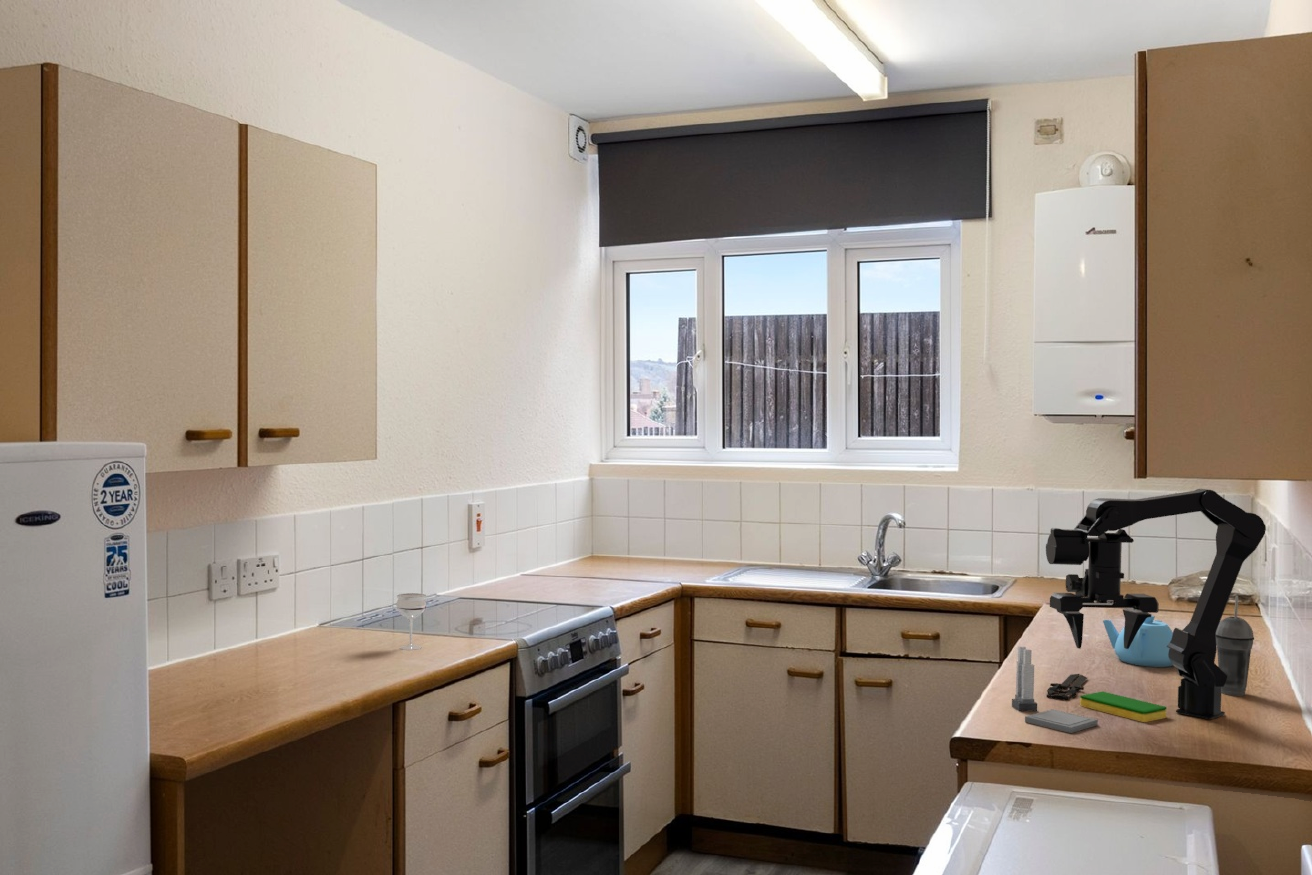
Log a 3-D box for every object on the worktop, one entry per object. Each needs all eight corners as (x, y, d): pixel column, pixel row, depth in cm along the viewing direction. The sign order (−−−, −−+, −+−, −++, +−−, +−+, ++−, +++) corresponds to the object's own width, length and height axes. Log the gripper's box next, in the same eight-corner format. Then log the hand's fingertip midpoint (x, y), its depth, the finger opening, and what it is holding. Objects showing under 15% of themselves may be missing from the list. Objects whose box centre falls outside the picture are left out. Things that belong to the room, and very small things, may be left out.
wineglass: (397, 644, 263) (398, 593, 263) (427, 644, 264) (428, 593, 263) (393, 650, 256) (394, 597, 256) (423, 650, 257) (424, 597, 257)
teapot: (1098, 654, 267) (1099, 609, 267) (1159, 654, 269) (1160, 609, 268) (1132, 669, 252) (1133, 620, 252) (1196, 668, 253) (1197, 620, 253)
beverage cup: (1247, 690, 233) (1249, 593, 232) (1257, 698, 226) (1260, 598, 225) (1208, 687, 234) (1211, 591, 234) (1217, 695, 227) (1220, 596, 227)
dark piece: (1072, 676, 245) (1072, 670, 245) (1103, 681, 241) (1103, 674, 241) (1036, 698, 224) (1036, 691, 224) (1070, 703, 221) (1070, 696, 221)
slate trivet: (1097, 725, 203) (1097, 719, 203) (1070, 733, 197) (1070, 727, 197) (1052, 714, 210) (1052, 708, 210) (1024, 721, 204) (1025, 716, 204)
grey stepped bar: (1029, 706, 216) (1030, 646, 216) (1037, 711, 212) (1038, 650, 212) (1011, 706, 216) (1012, 646, 215) (1019, 711, 212) (1020, 650, 212)
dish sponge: (1144, 724, 206) (1144, 711, 206) (1079, 707, 217) (1079, 695, 217) (1167, 719, 210) (1167, 706, 210) (1102, 703, 221) (1102, 690, 221)
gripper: (1132, 561, 221) (1130, 640, 221) (1039, 559, 220) (1037, 639, 220) (1161, 568, 210) (1158, 652, 210) (1063, 567, 209) (1060, 651, 209)
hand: (1102, 648), depth 213 cm, fingers open, 9 cm apart
